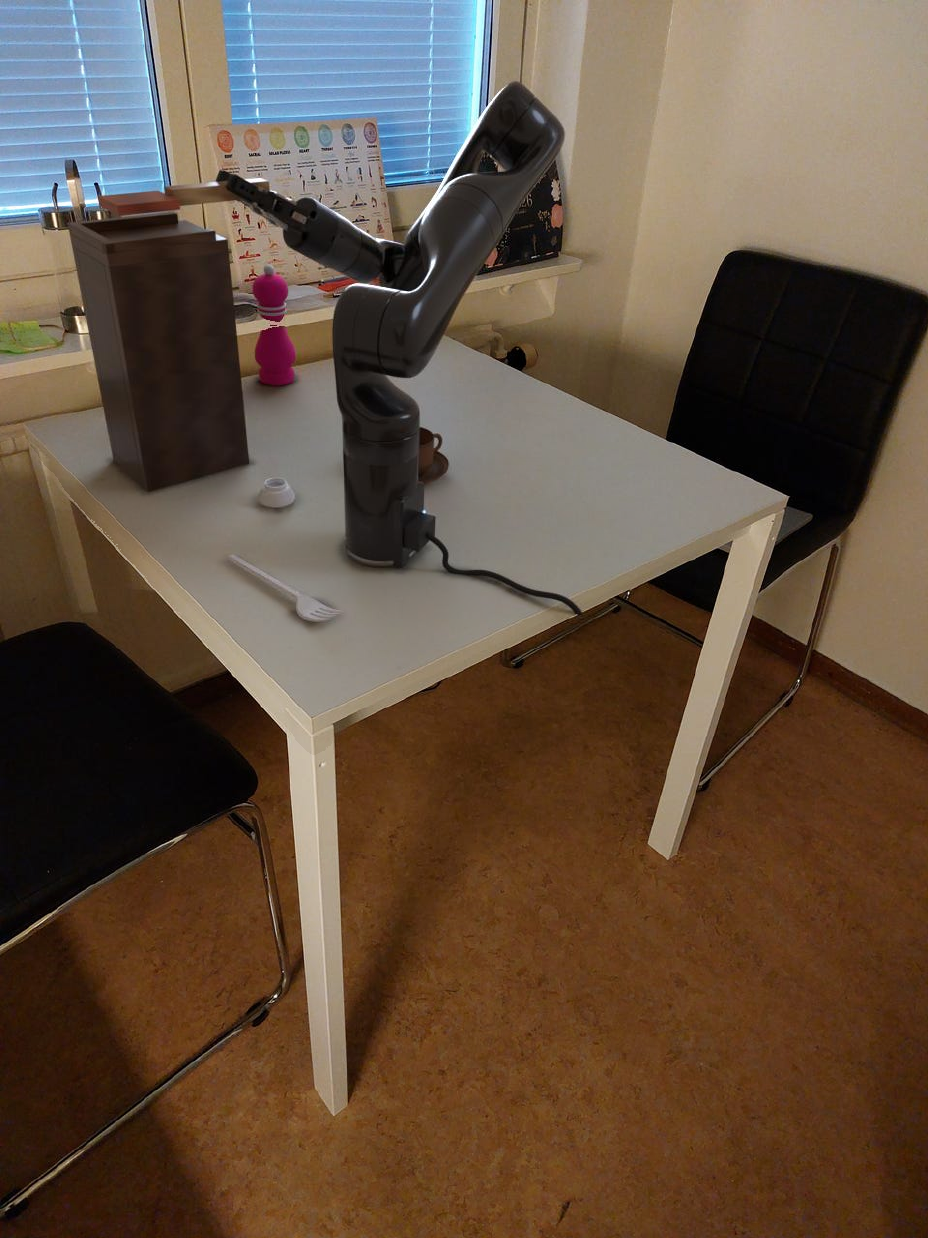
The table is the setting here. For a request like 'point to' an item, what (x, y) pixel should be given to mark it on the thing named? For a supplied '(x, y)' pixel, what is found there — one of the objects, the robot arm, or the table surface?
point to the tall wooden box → (163, 345)
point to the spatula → (172, 197)
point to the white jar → (276, 493)
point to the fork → (292, 595)
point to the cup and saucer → (430, 457)
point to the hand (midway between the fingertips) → (224, 179)
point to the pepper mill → (273, 330)
